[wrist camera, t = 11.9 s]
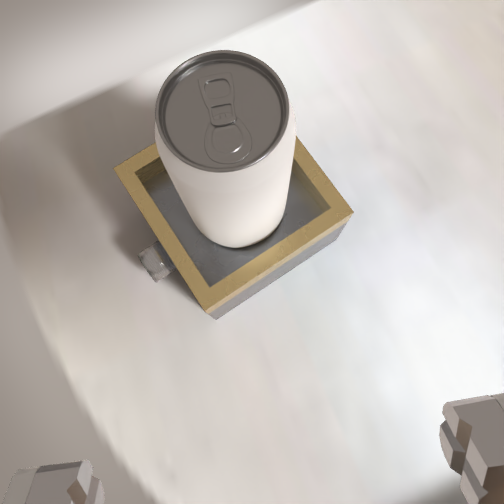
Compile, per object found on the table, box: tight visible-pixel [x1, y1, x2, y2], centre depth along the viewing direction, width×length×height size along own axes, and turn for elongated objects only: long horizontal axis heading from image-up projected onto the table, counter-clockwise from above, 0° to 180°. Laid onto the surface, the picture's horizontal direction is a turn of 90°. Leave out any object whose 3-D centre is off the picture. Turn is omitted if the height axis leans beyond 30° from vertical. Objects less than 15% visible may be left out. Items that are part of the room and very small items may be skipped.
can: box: [155, 50, 296, 248], centre depth 25 cm, size 6×6×12 cm
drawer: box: [113, 136, 354, 320], centre depth 32 cm, size 13×11×7 cm
